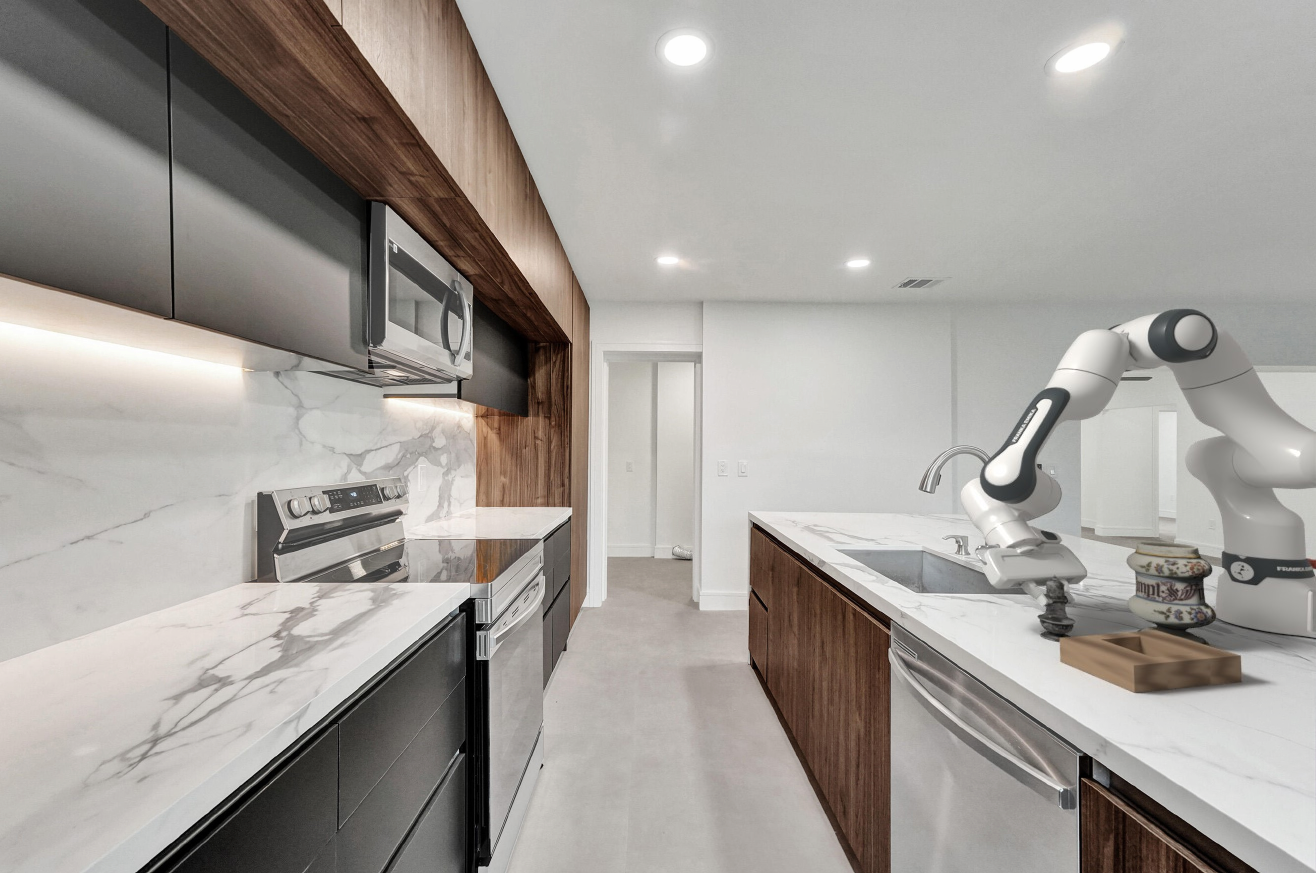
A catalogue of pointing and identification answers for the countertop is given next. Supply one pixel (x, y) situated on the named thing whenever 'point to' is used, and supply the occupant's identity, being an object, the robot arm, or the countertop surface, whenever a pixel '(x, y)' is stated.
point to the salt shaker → (1056, 613)
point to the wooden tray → (1150, 660)
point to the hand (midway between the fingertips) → (1058, 603)
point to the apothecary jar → (1171, 588)
